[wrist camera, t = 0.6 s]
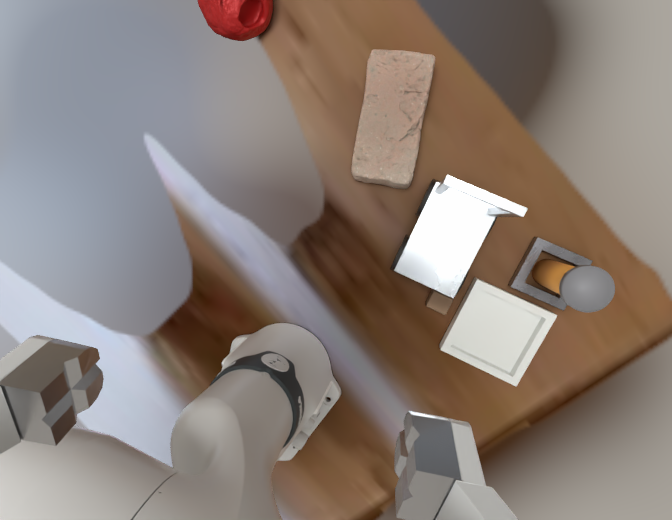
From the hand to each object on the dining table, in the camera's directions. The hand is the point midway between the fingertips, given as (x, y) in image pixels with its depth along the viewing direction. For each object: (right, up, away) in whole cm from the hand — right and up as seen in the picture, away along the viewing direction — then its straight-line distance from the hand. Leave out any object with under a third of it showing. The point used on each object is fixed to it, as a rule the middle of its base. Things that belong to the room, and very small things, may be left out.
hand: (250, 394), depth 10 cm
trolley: (+17, +7, +43) cm, 46 cm away
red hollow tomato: (-10, +39, +44) cm, 60 cm away
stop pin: (+30, +2, +40) cm, 51 cm away
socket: (+30, +2, +40) cm, 51 cm away
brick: (+10, +22, +43) cm, 49 cm away
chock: (+17, -2, +44) cm, 47 cm away
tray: (+24, -6, +43) cm, 49 cm away
